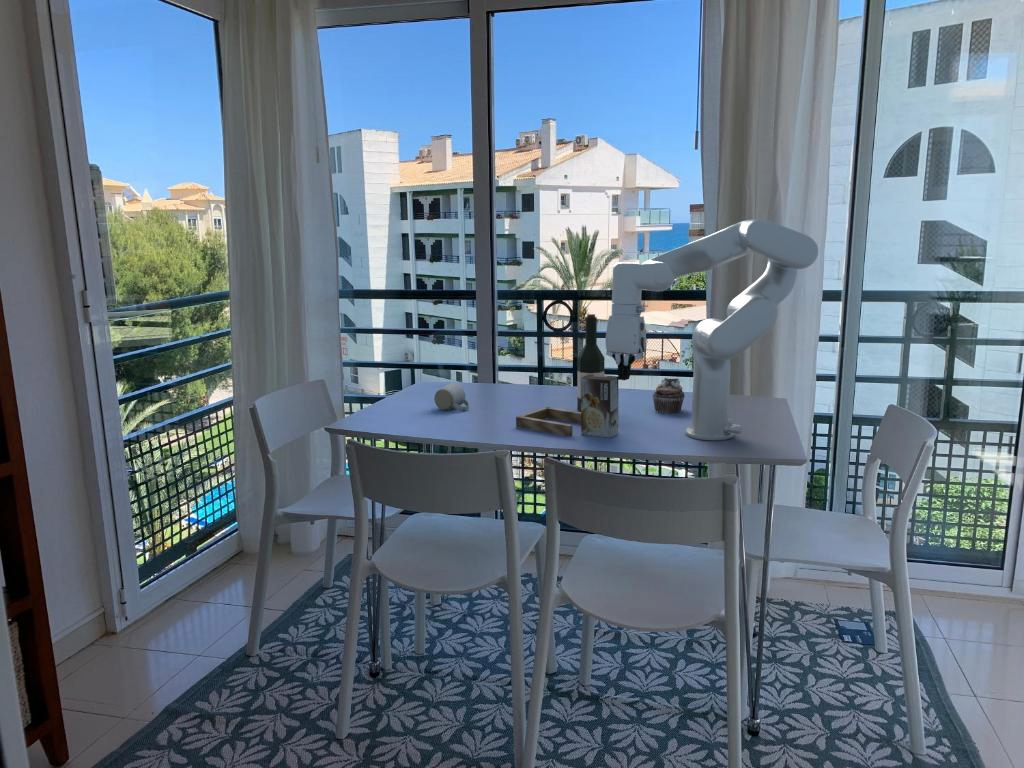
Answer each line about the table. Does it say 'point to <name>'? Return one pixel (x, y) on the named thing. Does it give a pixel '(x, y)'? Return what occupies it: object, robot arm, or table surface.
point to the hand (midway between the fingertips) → (623, 379)
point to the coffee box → (599, 405)
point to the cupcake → (668, 396)
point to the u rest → (538, 423)
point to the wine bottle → (589, 356)
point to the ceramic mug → (451, 397)
